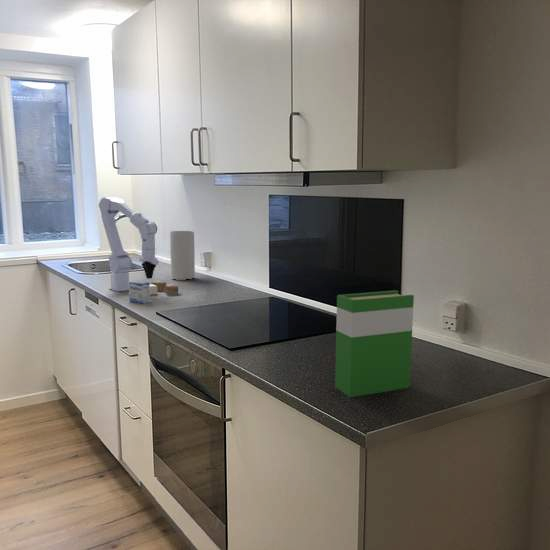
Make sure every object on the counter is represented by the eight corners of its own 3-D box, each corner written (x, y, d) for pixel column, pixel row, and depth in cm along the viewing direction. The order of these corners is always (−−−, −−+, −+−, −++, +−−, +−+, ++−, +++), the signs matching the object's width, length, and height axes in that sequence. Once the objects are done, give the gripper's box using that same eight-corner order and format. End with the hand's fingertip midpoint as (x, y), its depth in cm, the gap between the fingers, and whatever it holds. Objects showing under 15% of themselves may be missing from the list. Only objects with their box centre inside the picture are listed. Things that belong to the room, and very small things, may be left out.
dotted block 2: (165, 293, 275) (164, 284, 274) (175, 292, 277) (175, 283, 276) (167, 295, 270) (167, 286, 269) (178, 294, 272) (178, 285, 271)
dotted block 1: (151, 290, 282) (151, 281, 281) (159, 289, 286) (159, 280, 285) (158, 291, 279) (158, 282, 278) (166, 290, 283) (166, 281, 282)
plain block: (142, 293, 273) (142, 285, 273) (152, 292, 276) (152, 284, 276) (147, 295, 269) (146, 286, 269) (157, 294, 272) (157, 285, 272)
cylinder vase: (173, 276, 322) (172, 230, 318) (196, 276, 321) (196, 231, 318) (168, 280, 310) (167, 232, 306) (192, 280, 309) (191, 233, 305)
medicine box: (129, 301, 254) (128, 282, 253) (136, 300, 258) (135, 280, 257) (143, 303, 251) (142, 283, 250) (150, 301, 255) (149, 282, 253)
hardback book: (392, 378, 158) (396, 290, 154) (409, 387, 151) (413, 295, 147) (334, 387, 151) (337, 295, 147) (349, 397, 144) (352, 300, 140)
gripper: (164, 249, 267) (164, 279, 269) (149, 246, 278) (149, 275, 280) (150, 250, 262) (150, 281, 264) (135, 247, 273) (136, 276, 275)
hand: (149, 278), depth 272 cm, fingers closed
